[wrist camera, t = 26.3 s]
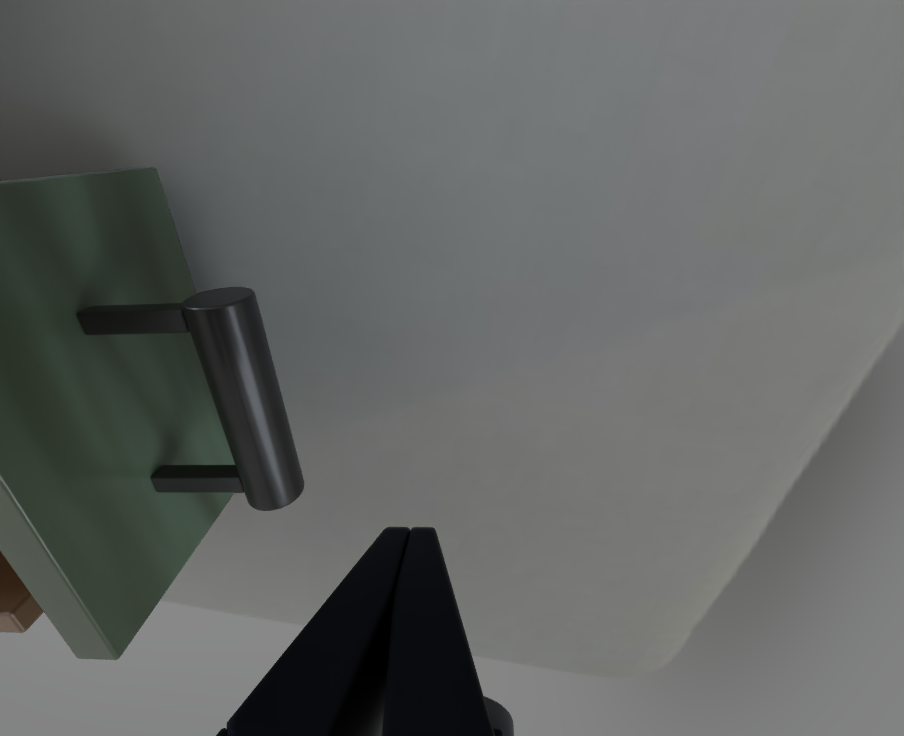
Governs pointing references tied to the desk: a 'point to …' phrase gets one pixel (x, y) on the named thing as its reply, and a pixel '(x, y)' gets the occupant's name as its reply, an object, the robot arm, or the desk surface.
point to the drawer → (120, 406)
